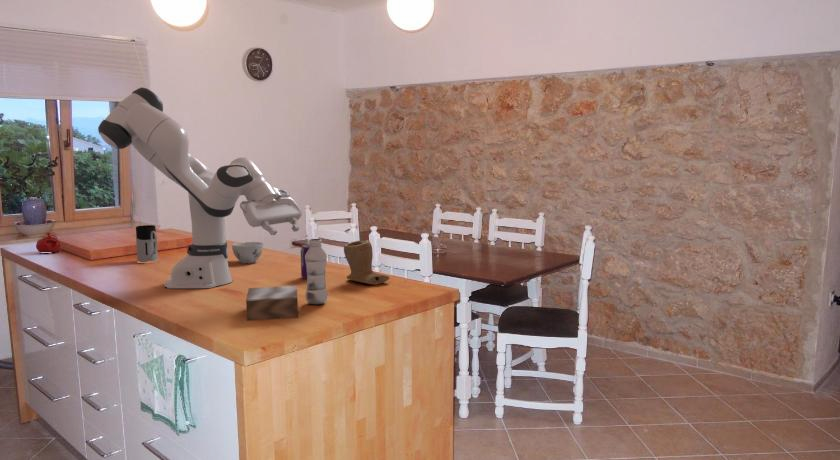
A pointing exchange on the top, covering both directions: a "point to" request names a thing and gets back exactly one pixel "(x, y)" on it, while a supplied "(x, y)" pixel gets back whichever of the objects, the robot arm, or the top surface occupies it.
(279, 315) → the metal riser
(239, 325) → the top surface
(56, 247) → the pomegranate
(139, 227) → the grey and black mug
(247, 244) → the teacup
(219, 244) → the robot arm
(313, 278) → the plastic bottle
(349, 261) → the brown boot
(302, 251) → the beverage can
